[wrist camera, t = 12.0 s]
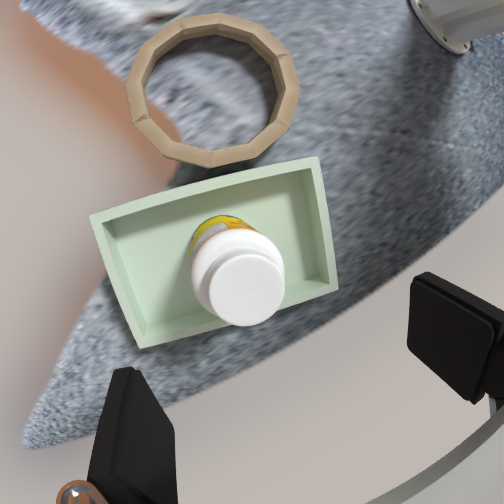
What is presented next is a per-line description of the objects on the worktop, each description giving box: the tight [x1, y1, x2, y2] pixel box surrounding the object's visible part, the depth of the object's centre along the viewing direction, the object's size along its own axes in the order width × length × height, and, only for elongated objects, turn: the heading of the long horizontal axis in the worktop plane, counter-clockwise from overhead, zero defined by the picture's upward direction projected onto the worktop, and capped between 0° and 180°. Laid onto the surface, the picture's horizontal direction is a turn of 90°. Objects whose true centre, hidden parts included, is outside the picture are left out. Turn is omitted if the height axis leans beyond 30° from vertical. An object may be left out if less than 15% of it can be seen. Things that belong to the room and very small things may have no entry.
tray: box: [89, 156, 339, 349], centre depth 23 cm, size 18×12×3 cm, turn 103°
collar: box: [125, 13, 300, 169], centre depth 20 cm, size 13×13×2 cm
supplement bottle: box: [189, 215, 285, 326], centre depth 19 cm, size 6×6×10 cm
